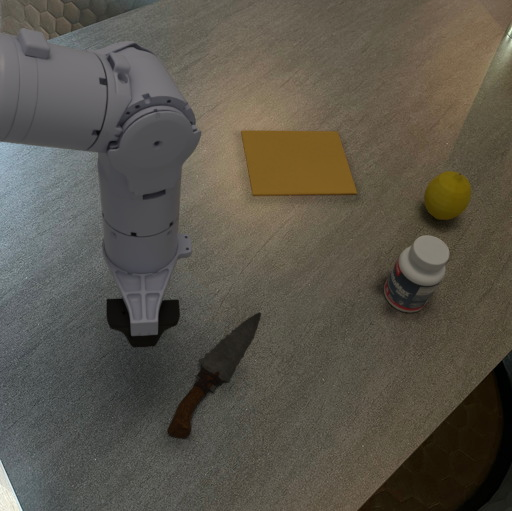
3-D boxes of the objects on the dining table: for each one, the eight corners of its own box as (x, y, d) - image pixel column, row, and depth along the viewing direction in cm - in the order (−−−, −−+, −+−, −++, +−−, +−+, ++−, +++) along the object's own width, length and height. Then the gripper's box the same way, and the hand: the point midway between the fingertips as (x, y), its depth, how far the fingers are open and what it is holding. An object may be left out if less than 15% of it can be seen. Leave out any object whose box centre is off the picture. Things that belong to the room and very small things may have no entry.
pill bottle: (375, 281, 74) (398, 234, 67) (412, 272, 76) (439, 225, 69) (396, 318, 72) (422, 273, 65) (434, 308, 73) (464, 262, 66)
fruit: (431, 194, 85) (454, 150, 78) (464, 219, 83) (490, 176, 76) (407, 213, 82) (428, 169, 76) (441, 239, 80) (466, 196, 74)
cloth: (252, 195, 80) (253, 194, 80) (241, 131, 87) (241, 130, 87) (356, 194, 83) (357, 193, 83) (337, 132, 90) (337, 131, 90)
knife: (184, 440, 58) (149, 398, 58) (177, 445, 59) (143, 405, 60) (292, 339, 68) (262, 304, 68) (283, 346, 69) (254, 312, 70)
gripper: (203, 286, 43) (192, 376, 54) (187, 140, 51) (181, 242, 62) (97, 290, 42) (107, 381, 52) (99, 139, 50) (108, 244, 61)
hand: (142, 306), depth 57 cm, fingers open, 7 cm apart
